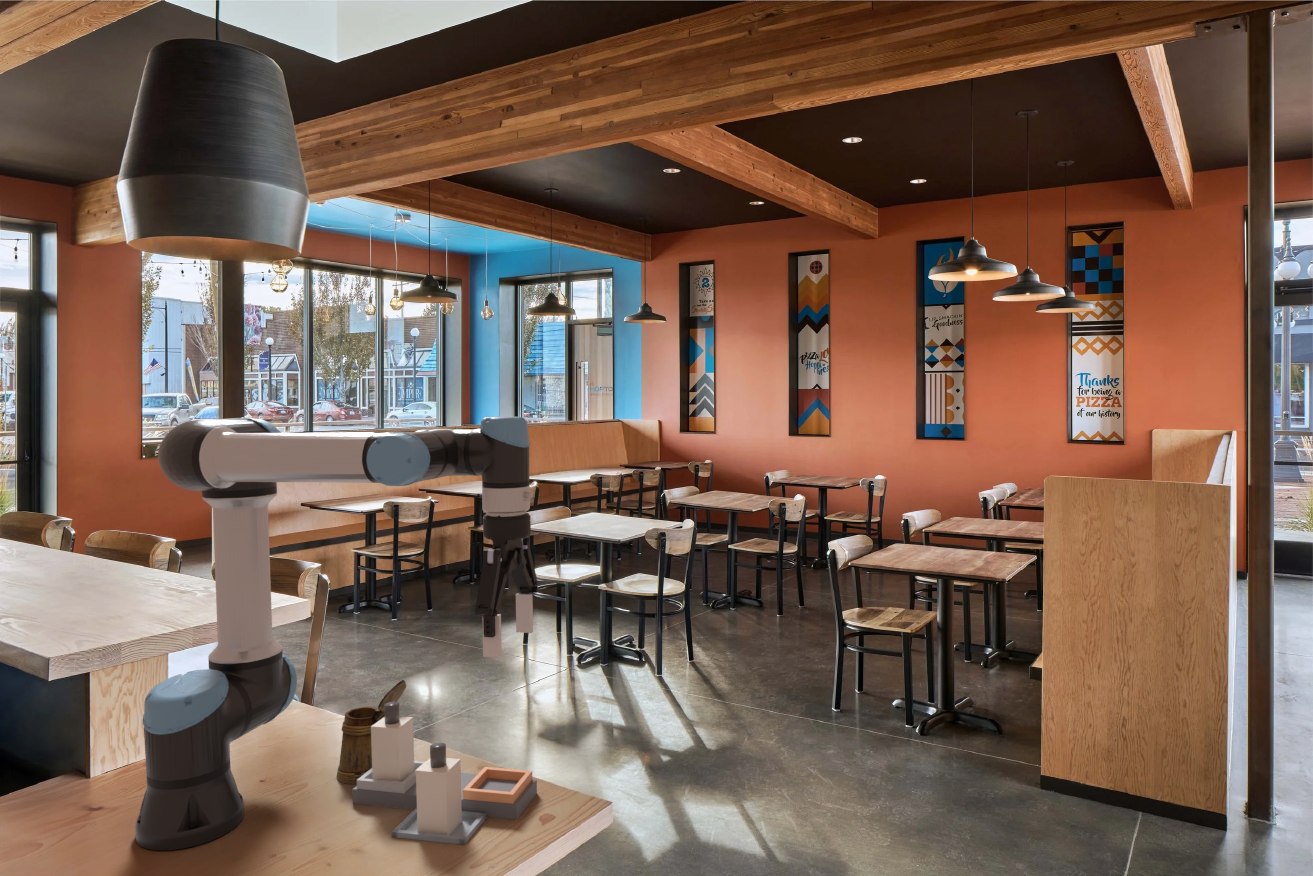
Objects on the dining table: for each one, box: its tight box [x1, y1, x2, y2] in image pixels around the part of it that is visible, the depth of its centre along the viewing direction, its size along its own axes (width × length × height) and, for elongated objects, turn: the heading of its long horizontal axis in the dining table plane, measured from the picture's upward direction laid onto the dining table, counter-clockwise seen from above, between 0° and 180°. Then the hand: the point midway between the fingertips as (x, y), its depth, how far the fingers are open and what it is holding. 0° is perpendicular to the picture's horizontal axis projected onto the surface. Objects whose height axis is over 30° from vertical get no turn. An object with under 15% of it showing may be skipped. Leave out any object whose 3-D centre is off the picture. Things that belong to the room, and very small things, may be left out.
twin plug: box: [371, 701, 415, 782], centre depth 141 cm, size 5×5×13 cm
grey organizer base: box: [351, 760, 538, 821], centre depth 139 cm, size 29×9×4 cm, turn 78°
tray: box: [391, 807, 487, 846], centre depth 130 cm, size 12×8×1 cm, turn 78°
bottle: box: [416, 742, 462, 835], centre depth 130 cm, size 5×5×13 cm
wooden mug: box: [336, 679, 407, 785], centre depth 150 cm, size 9×14×18 cm, turn 72°
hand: (509, 644), depth 134 cm, fingers open, 13 cm apart
